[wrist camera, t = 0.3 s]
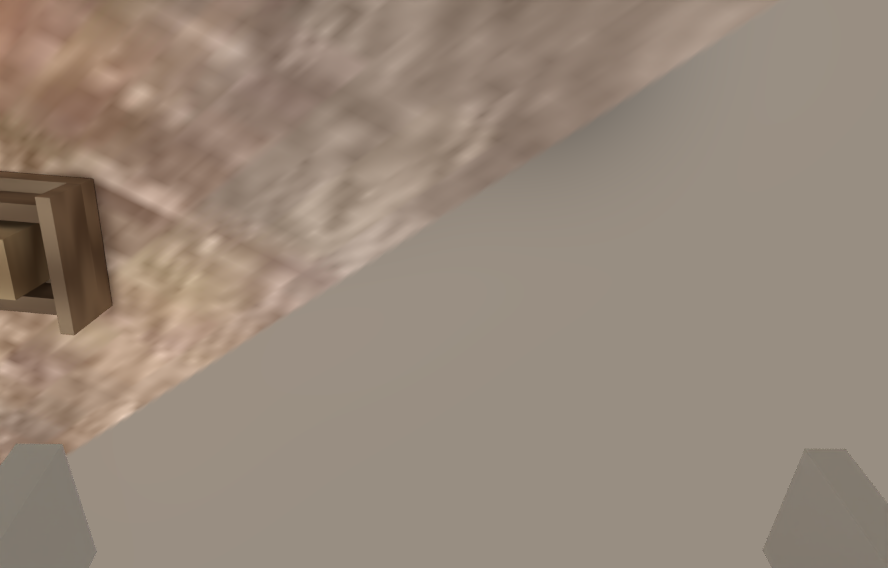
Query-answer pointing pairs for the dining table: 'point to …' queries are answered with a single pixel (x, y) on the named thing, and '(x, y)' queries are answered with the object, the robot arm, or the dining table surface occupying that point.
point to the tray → (61, 246)
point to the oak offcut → (21, 259)
